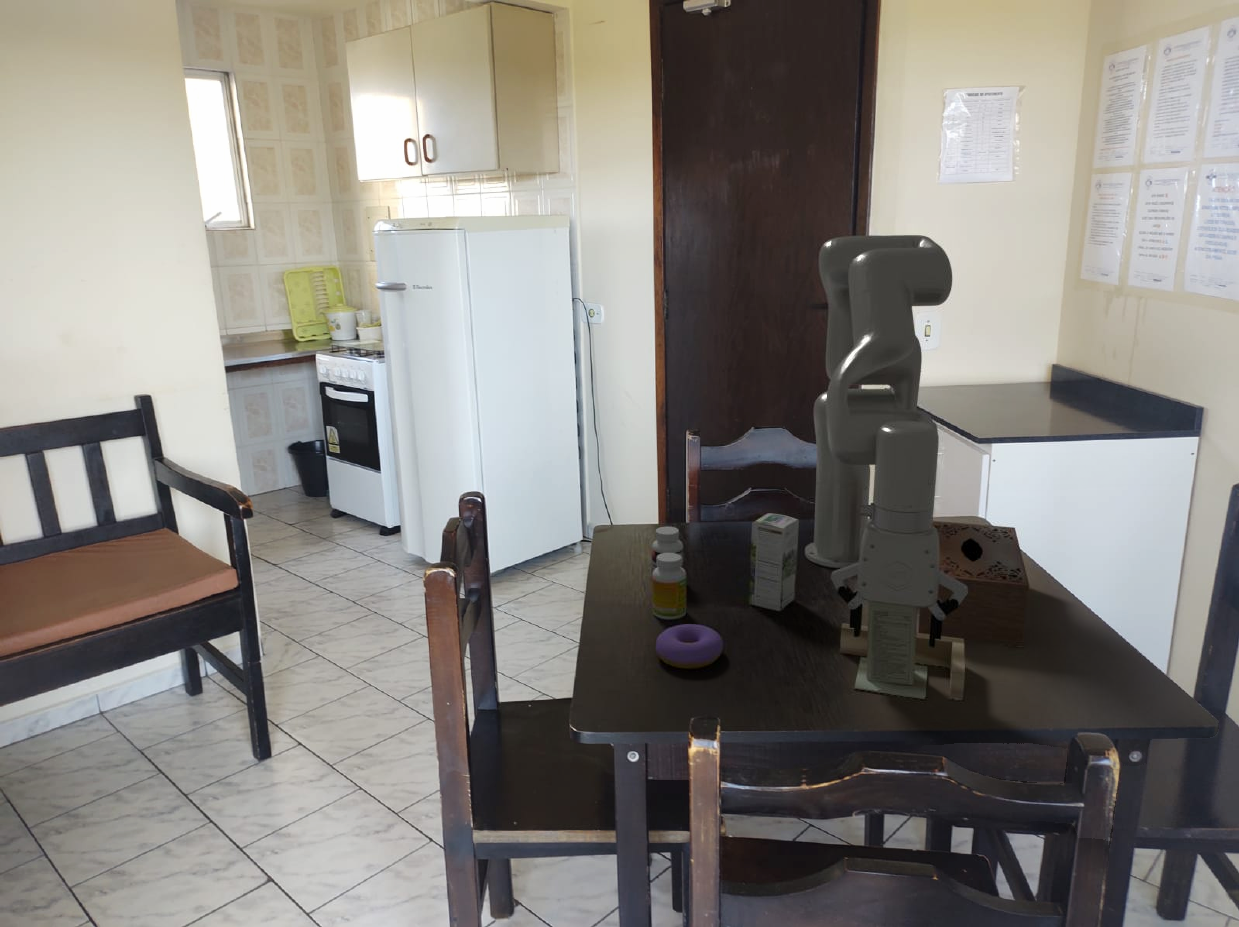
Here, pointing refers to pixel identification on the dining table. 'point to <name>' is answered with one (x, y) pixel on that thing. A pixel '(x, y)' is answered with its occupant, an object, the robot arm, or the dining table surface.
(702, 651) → the donut
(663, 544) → the pill bottle
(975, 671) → the dining table surface
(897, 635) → the skincare box
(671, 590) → the supplement bottle
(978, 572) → the tissue box cover
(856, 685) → the corner arena
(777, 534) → the syrup box
